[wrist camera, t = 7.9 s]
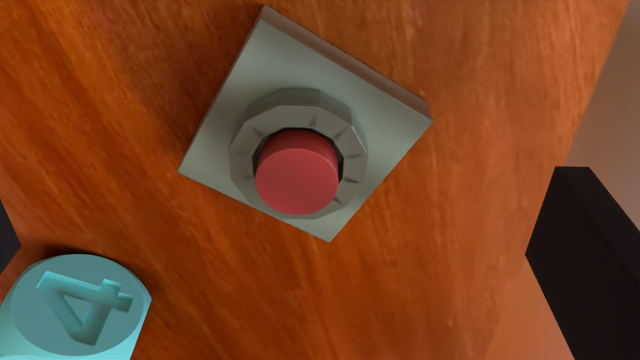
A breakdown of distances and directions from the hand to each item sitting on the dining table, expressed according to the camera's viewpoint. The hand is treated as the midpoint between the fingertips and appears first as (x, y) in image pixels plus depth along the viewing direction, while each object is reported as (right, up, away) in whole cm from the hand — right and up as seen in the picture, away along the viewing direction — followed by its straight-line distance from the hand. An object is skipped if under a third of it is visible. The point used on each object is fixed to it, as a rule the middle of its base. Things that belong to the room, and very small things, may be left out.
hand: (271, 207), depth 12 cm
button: (0, +2, +13) cm, 13 cm away
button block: (0, +4, +16) cm, 17 cm away
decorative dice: (-15, -7, +25) cm, 30 cm away
